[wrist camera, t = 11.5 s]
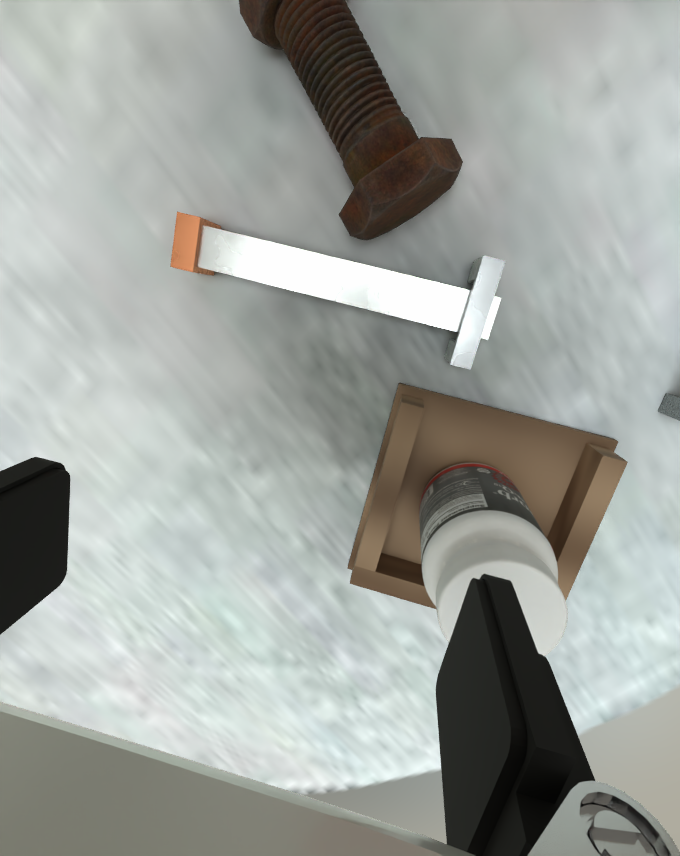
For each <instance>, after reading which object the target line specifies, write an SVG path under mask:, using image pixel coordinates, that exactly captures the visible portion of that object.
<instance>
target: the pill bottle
mask: <svg viewBox="0 0 680 856" xmlns="http://www.w3.org/2000/svg"><path fill="white" fill-rule="evenodd" d="M419 525H420V543H421V568H422V575H423V581H424V585H425V588H426V591H427V593H428V595H429V597H430V599H431V600H432V602H433V604H434V605H435V606H436V608H437V616H438V621H439V625H440V628H441V630H442V632H443V635H444V636H445V638H446V639H447V641H448V642H450V639H451V636H452V633H453V630H454V627H455V624H456V621H457V618H458V615H459V612H460V610H461V607H462V604H463V601H464V598H465V595H466V592H467V589H468V586H469V583H470V581H471V579H472V578H476V579H480V577H481V576H482V575H483V574H488V575H491V576H495V577H499V578H503V579H507V580H510V581H511V582H512V584H513V587H514V589H515V592H516V595H517V597H518V600H519V603H520V605H521V608H522V611H523V614H524V616H525V619H526V622H527V624H528V627H529V630H530V632H531V635H532V638H533V640H534V643H535V646H536V649H537V651H538V654H542V655H543V656H546V655H547V654H548V653H550V652H551V651H552V650H553V649H554V648H555V647H556V646H557V644H558V643H559V642H560V640H561V638H562V637H563V634H564V632H565V629H566V625H567V619H568V613H567V605H566V601H565V598H564V596H563V593H562V591H561V589H560V587H559V585H558V567H557V561H556V558H555V555H554V552H553V549H552V546H551V544H550V543H549V541H548V539H547V538H546V536H545V534H544V533H543V531H542V529H541V528H540V526H539V524H538V523H537V521H536V519H535V518H534V516H533V514H532V512H531V511H530V509H529V507H528V505H527V504H526V502H525V500H524V499H523V497H522V495H521V493H520V492H519V490H518V488H517V487H516V485H515V484H514V483H513V482H512V480H511V479H510V478H509V477H508V476H506V475H505V474H504V473H503V472H501V471H499V470H498V469H496V468H494V467H491V466H488V465H485V464H481V463H461V464H456V465H453V466H450V467H448V468H446V469H444V470H442V471H441V472H439V473H438V474H436V475H435V476H434V477H433V478H432V479H431V480H430V481H429V483H428V484H427V486H426V487H425V489H424V491H423V493H422V496H421V500H420V506H419Z"/></svg>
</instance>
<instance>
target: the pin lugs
mask: <svg viewBox="0 0 680 856" xmlns="http://www.w3.org/2000/svg"><path fill="white" fill-rule="evenodd" d="M505 262H506V260H502V259H497V258H493V257H489V256H485V255H483V256H482V257H480V258H479V259H477V260H476V261H474V262H473V265H472V268H471V271H470V275H469V278H468V281H467V282H469V283H473V286H472V289H471V293H470V296H469V299H468V302H467V306H466V309H465V312H464V315H463V319H462V322H461V325H460V329H459V332H458V335H457V338H456V340H453V339H450V341H449V344H448V347H447V350H446V354H445V358H446V360H447V361H448V362H449V364H450V365H454V366H458V367H462V368H466V369H470V370H471V367H472V364H473V361H474V358H475V355H476V352H477V349H478V346H479V342H480V339H481V336H482V333H483V330H484V327H485V324H486V321H487V318H488V315H489V311H490V308H491V305H492V302H493V299H494V296H495V293H496V290H497V287H498V284H499V280H500V277H501V274H502V271H503V268H504V265H505ZM658 412H661V413H663V414H665V415H668V416H670V417H672V418H675V419H677V420H680V397H679V396H675V395H671V394H667V393H666V395H665V397H664V399H663V401H662V404H661V406H660V408H659V410H658Z"/></svg>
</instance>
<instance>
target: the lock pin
mask: <svg viewBox="0 0 680 856" xmlns="http://www.w3.org/2000/svg"><path fill="white" fill-rule="evenodd" d="M170 267H174V268H178V269H182V270H186V271H190V272H194V273H201V274H207V275H213V276H214V271H216V272H220V273H224V274H228V275H232V276H236V277H240V278H244V279H248V280H252V281H256V282H260V283H264V284H268V285H272V286H276V287H280V288H284V289H288V290H292V291H296V292H300V293H304V294H308V295H312V296H316V297H320V298H324V299H328V300H332V301H336V302H340V303H344V304H348V305H352V306H356V307H360V308H364V309H368V310H371V311H375V312H379V313H383V314H387V315H391V316H395V317H399V318H403V319H407V320H411V321H415V322H419V323H423V324H427V325H431V326H435V327H439V328H443V329H447V330H451V331H455V332H459V329H460V325H461V322H462V319H463V315H464V312H465V309H466V306H467V302H468V299H469V296H470V293H471V290H467V289H463V288H459V287H455V286H451V285H446V284H442V283H438V282H434V281H430V280H426V279H422V278H418V277H414V276H409V275H405V274H401V273H397V272H393V271H389V270H385V269H381V268H377V267H372V266H368V265H364V264H360V263H356V262H352V261H348V260H344V259H340V258H336V257H331V256H327V255H323V254H319V253H315V252H311V251H307V250H303V249H299V248H294V247H290V246H286V245H282V244H278V243H274V242H270V241H266V240H262V239H258V238H253V237H249V236H245V235H241V234H237V233H233V232H229V231H225V230H221V226H219V225H217V224H215V223H212V222H210V221H208V220H205V219H203V218H201V217H197V216H193V215H188V214H184V213H180V212H177V218H176V226H175V234H174V242H173V250H172V258H171V266H170ZM500 301H501V298H500V297H496V296H494V299H493V302H492V305H491V308H490V311H489V315H488V318H487V321H486V324H485V327H484V330H483V333H482V336H481V338H483V339H487V340H488V338H489V335H490V331H491V328H492V325H493V322H494V319H495V316H496V313H497V310H498V307H499V304H500Z"/></svg>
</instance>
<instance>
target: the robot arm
mask: <svg viewBox="0 0 680 856" xmlns="http://www.w3.org/2000/svg"><path fill="white" fill-rule="evenodd" d="M69 500H70V475H69V473H68V472H67V471H66V470H65V467H64V465H62V464H61V463H58V462H54V461H50V460H46V459H43V458H38V457H34V458H31V459H28V460H26V461H24V462H21V463H19V464H17V465H14V466H12V467H9V468H7V469H5V470H2V471H0V634H2V633H3V632H4V631H5V630H6V629H8V628H9V627H10V626H11V625H12V624H14V623H15V622H16V621H17V620H19V619H20V618H21V617H22V616H23V615H25V614H26V613H27V612H28V611H29V610H31V609H32V608H33V607H34V606H36V605H37V604H38V603H39V602H40V601H42V600H43V599H44V598H45V597H46V596H48V595H49V594H50V593H51V592H53V591H54V590H55V589H56V588H57V587H58V586H59V585H60V584H61V583H62V582H63V580H64V578H65V576H66V572H67V555H68V528H69ZM436 701H437V715H438V728H439V742H440V755H441V769H442V782H443V796H444V809H445V823H446V836H447V844H444V843H442V842H439V841H437V840H434V839H431V838H429V837H426V836H424V835H421V834H418V833H415V832H412V831H409V830H406V829H403V828H400V827H397V826H394V825H391V824H388V823H385V822H382V821H379V820H376V819H373V818H370V817H367V816H364V815H361V814H358V813H355V812H352V811H349V810H346V809H343V808H340V807H337V806H334V805H331V804H328V803H325V802H322V801H319V800H316V799H313V798H310V797H306V796H303V795H300V794H297V793H294V792H291V791H287V790H284V789H281V788H278V787H275V786H271V785H268V784H265V783H262V782H259V781H255V780H252V779H249V778H246V777H243V776H239V775H236V774H233V773H230V772H227V771H224V770H220V769H217V768H214V767H211V766H208V765H204V764H201V763H198V762H195V761H192V760H188V759H185V758H182V757H179V756H176V755H172V754H169V753H166V752H163V751H159V750H156V749H153V748H150V747H146V746H143V745H140V744H137V743H133V742H130V741H127V740H124V739H120V738H117V737H114V736H111V735H107V734H104V733H101V732H98V731H94V730H91V729H88V728H85V727H81V726H78V725H75V724H72V723H68V722H65V721H62V720H58V719H55V718H52V717H49V716H45V715H42V714H39V713H36V712H32V711H29V710H26V709H22V708H19V707H16V706H13V705H9V704H6V703H3V702H0V856H680V852H679V850H678V848H677V847H676V845H675V843H674V841H673V839H672V838H671V837H670V835H669V834H668V833H667V832H666V830H665V829H664V828H663V827H662V825H661V824H660V823H659V821H658V820H657V819H656V818H655V817H654V816H653V815H652V814H651V813H650V812H649V811H647V810H646V809H645V808H644V807H643V806H642V805H641V804H640V803H639V802H637V801H636V800H634V799H633V798H631V797H630V796H629V795H627V794H626V793H624V792H623V791H621V790H619V789H616V788H614V787H612V786H610V785H608V784H605V783H601V782H596V781H595V779H594V776H593V774H592V771H591V769H590V766H589V764H588V761H587V758H586V756H585V753H584V751H583V748H582V746H581V743H580V740H579V738H578V735H577V733H576V730H575V728H574V725H573V723H572V720H571V717H570V715H569V712H568V710H567V707H566V705H565V702H564V700H563V697H562V695H561V692H560V689H559V687H558V684H557V682H556V679H555V677H554V674H553V672H552V669H551V666H550V664H549V662H548V660H547V658H546V657H545V656H543V655H542V654H538V651H537V649H536V646H535V643H534V640H533V638H532V635H531V632H530V630H529V627H528V624H527V622H526V619H525V616H524V614H523V611H522V608H521V605H520V603H519V600H518V597H517V595H516V592H515V589H514V587H513V584H512V582H511V581H510V580H507V579H503V578H499V577H495V576H491V575H488V574H483V575H482V576H481V577H480V579H476V578H472V579H471V581H470V583H469V586H468V589H467V592H466V595H465V598H464V601H463V604H462V607H461V610H460V612H459V615H458V618H457V621H456V624H455V627H454V630H453V633H452V636H451V639H450V642H449V645H448V647H447V650H446V653H445V656H444V659H443V662H442V665H441V668H440V671H439V674H438V678H437V684H436Z"/></svg>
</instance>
